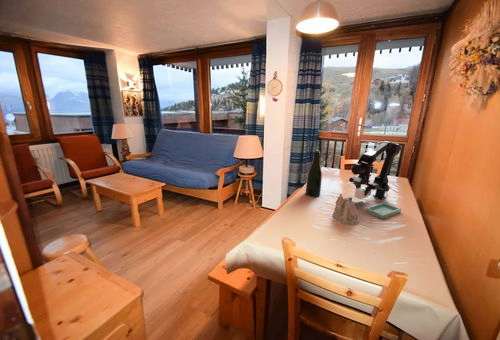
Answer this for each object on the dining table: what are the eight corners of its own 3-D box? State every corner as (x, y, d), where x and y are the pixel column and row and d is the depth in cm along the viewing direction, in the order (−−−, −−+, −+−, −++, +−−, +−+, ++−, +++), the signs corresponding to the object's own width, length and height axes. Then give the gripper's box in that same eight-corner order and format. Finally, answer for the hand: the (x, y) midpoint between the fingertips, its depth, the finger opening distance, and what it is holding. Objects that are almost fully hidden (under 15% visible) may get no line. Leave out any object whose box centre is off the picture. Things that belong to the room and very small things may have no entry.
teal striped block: (365, 193, 156) (367, 185, 155) (372, 195, 152) (374, 187, 150) (354, 196, 151) (355, 188, 149) (360, 199, 146) (362, 190, 145)
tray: (382, 205, 147) (383, 202, 146) (400, 212, 137) (401, 208, 137) (364, 211, 138) (365, 207, 137) (382, 219, 128) (382, 215, 128)
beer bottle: (302, 192, 166) (306, 149, 156) (313, 190, 170) (318, 148, 160) (311, 198, 156) (316, 152, 147) (323, 195, 160) (328, 151, 151)
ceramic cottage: (345, 226, 120) (350, 201, 116) (327, 214, 135) (330, 190, 132) (368, 224, 124) (373, 199, 121) (348, 212, 140) (352, 189, 136)
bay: (350, 200, 153) (351, 196, 152) (362, 205, 146) (362, 201, 145) (343, 202, 150) (344, 198, 149) (355, 208, 142) (356, 203, 141)
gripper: (345, 170, 149) (342, 192, 154) (371, 178, 134) (366, 202, 138) (355, 168, 155) (352, 189, 159) (382, 176, 139) (377, 199, 143)
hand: (361, 194), depth 150 cm, fingers closed on teal striped block, 5 cm apart
